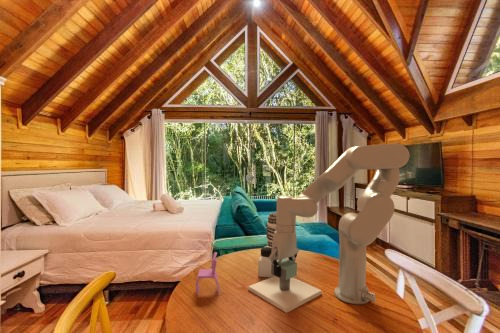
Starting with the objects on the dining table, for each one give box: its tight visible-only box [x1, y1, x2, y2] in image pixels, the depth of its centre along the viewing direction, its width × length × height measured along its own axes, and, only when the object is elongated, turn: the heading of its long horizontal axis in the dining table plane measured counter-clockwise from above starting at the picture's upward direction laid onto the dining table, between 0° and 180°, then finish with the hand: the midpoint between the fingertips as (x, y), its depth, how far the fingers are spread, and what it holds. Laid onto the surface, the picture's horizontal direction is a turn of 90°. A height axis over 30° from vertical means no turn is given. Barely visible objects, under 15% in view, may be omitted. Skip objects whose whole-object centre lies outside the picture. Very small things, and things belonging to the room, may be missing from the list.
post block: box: [247, 276, 322, 314], centre depth 102 cm, size 20×20×6 cm
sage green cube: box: [271, 258, 298, 281], centre depth 102 cm, size 7×7×5 cm
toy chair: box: [195, 251, 220, 297], centre depth 102 cm, size 8×9×15 cm
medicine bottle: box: [257, 245, 275, 279], centre depth 118 cm, size 7×7×12 cm
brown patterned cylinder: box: [265, 212, 279, 260], centre depth 131 cm, size 9×9×25 cm
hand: (283, 272), depth 102 cm, fingers closed on sage green cube, 7 cm apart
